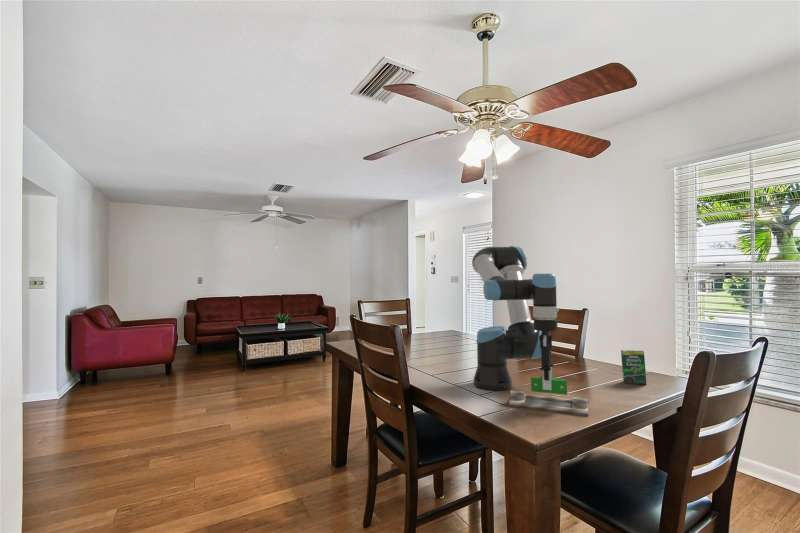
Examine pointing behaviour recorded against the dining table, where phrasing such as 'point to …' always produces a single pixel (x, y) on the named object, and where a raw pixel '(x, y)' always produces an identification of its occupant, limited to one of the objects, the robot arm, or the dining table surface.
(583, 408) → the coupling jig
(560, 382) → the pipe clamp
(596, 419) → the dining table surface
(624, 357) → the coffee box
